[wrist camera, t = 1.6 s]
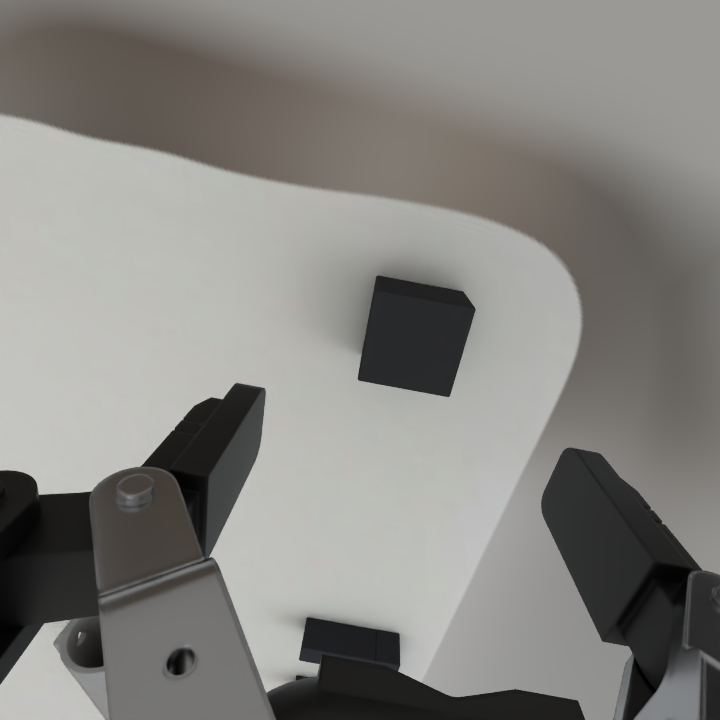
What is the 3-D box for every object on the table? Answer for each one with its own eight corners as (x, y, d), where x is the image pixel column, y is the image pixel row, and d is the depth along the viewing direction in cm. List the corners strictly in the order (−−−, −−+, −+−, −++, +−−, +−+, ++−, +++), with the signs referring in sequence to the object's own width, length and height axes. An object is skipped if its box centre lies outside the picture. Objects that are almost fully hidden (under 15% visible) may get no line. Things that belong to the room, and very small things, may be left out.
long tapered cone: (151, 779, 39) (115, 684, 30) (91, 758, 40) (37, 659, 30) (185, 707, 44) (163, 607, 35) (131, 690, 45) (96, 587, 35)
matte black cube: (464, 291, 23) (476, 308, 20) (442, 370, 25) (449, 397, 22) (376, 275, 23) (374, 289, 20) (361, 355, 25) (357, 380, 22)
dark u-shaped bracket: (307, 617, 35) (301, 647, 32) (399, 633, 35) (400, 665, 32) (294, 686, 39) (288, 717, 36) (377, 700, 39) (376, 733, 36)
